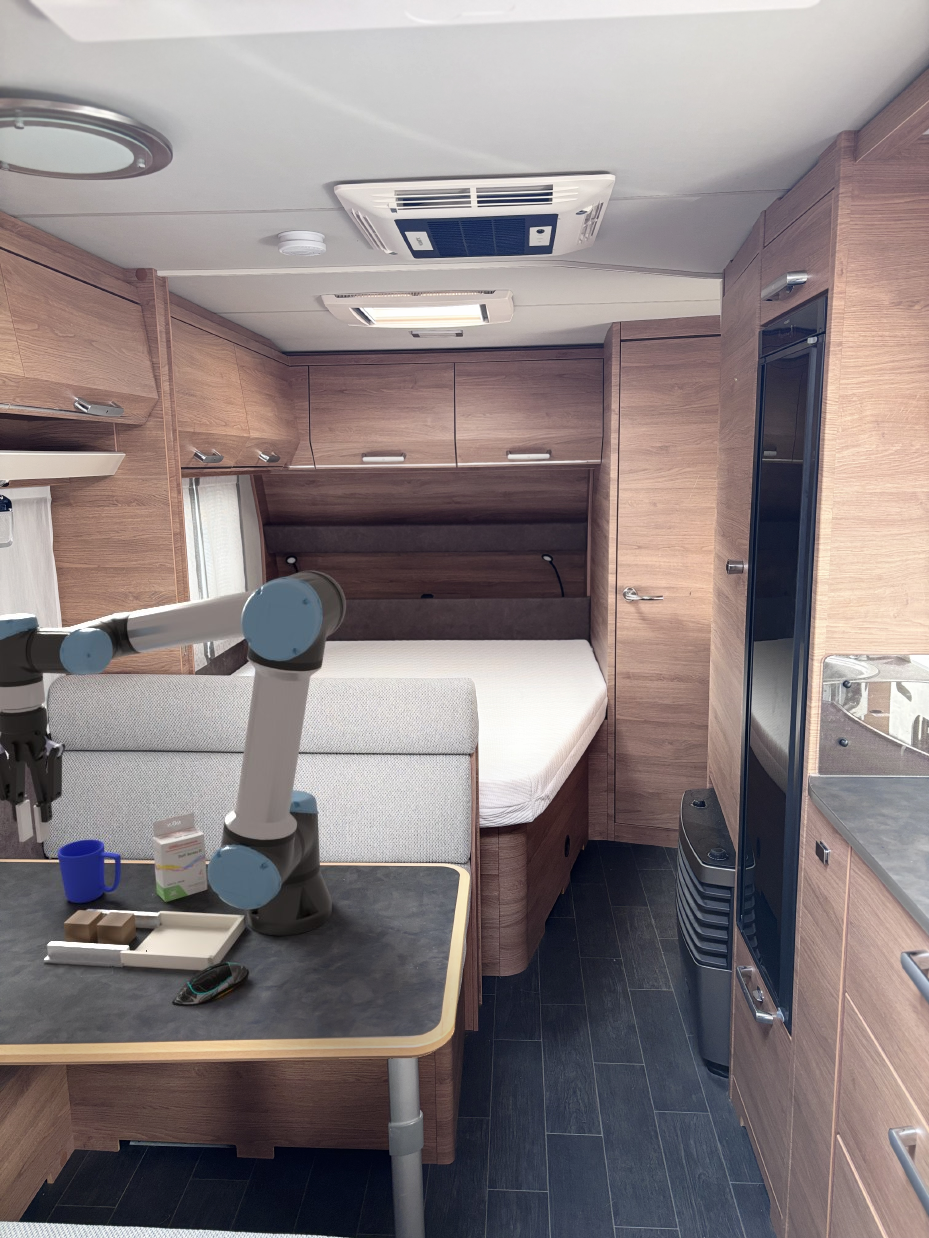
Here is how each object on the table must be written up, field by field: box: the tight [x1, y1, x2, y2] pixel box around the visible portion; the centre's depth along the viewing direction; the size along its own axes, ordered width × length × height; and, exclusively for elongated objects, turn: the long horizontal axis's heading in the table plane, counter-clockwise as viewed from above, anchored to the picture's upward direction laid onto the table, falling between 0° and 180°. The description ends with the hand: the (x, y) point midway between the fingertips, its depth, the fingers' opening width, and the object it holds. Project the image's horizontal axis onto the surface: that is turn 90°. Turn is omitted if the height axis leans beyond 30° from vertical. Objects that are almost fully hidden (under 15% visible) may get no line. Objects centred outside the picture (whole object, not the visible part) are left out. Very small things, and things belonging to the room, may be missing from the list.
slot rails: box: [43, 908, 162, 968], centre depth 154 cm, size 14×15×2 cm
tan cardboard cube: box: [96, 912, 137, 946], centre depth 153 cm, size 4×4×4 cm
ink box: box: [152, 812, 208, 903], centre depth 171 cm, size 9×5×15 cm, turn 127°
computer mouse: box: [171, 961, 250, 1007], centre depth 138 cm, size 6×12×4 cm, turn 123°
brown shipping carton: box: [63, 909, 103, 944], centre depth 154 cm, size 4×4×4 cm
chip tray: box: [120, 910, 247, 971], centre depth 152 cm, size 16×14×2 cm
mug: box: [57, 839, 122, 904], centre depth 169 cm, size 8×12×10 cm
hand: (35, 838), depth 152 cm, fingers open, 3 cm apart
